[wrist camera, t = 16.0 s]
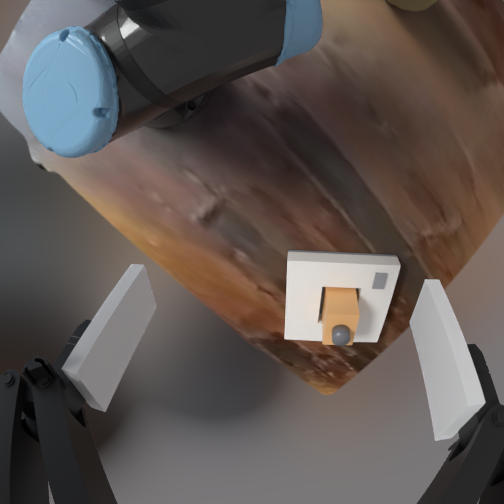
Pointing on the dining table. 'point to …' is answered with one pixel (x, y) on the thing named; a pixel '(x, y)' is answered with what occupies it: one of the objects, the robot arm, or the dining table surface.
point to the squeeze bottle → (413, 4)
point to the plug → (339, 316)
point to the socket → (338, 275)
